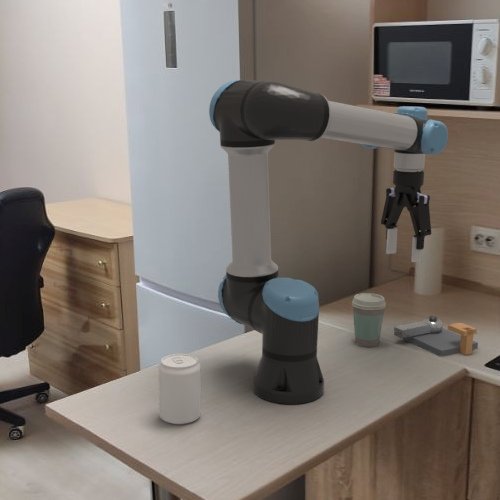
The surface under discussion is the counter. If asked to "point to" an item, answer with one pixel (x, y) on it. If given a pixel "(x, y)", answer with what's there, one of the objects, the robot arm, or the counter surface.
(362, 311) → the coffee cup
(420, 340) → the board
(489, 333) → the counter surface
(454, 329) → the block
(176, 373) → the beverage can
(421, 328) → the link
